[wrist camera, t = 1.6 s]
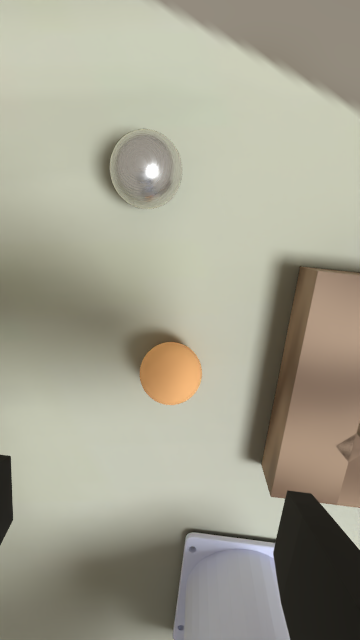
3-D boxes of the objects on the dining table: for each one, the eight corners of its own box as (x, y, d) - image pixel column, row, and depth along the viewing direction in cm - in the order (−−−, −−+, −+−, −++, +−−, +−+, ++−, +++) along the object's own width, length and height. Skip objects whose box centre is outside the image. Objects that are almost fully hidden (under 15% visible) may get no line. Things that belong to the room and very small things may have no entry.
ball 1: (180, 214, 16) (176, 209, 13) (117, 208, 16) (98, 200, 13) (187, 145, 15) (184, 120, 12) (121, 138, 15) (101, 113, 12)
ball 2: (197, 390, 18) (198, 420, 15) (143, 383, 18) (132, 412, 15) (204, 337, 18) (206, 358, 14) (147, 331, 18) (136, 351, 14)
